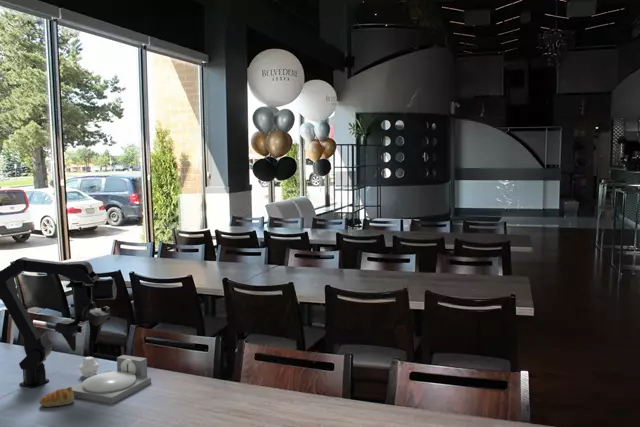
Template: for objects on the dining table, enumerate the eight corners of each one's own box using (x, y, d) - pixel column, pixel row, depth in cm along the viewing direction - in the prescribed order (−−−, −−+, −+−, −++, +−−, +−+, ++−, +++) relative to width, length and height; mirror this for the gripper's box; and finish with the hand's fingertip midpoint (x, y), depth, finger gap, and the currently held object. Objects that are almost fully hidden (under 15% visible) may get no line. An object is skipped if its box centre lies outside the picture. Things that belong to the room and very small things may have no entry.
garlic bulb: (76, 377, 193) (75, 357, 192) (93, 372, 197) (92, 352, 197) (85, 381, 189) (84, 360, 188) (102, 376, 193) (101, 356, 193)
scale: (66, 395, 176) (65, 373, 176) (114, 373, 196) (113, 353, 195) (111, 404, 170) (111, 381, 169) (157, 380, 189) (156, 359, 189)
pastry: (41, 410, 165) (40, 398, 165) (38, 402, 171) (37, 390, 170) (76, 402, 170) (75, 390, 170) (72, 394, 176) (71, 383, 175)
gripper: (79, 308, 174) (81, 358, 175) (122, 296, 191) (123, 341, 193) (52, 305, 178) (54, 354, 179) (96, 293, 196) (98, 338, 197)
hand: (84, 346), depth 187 cm, fingers open, 9 cm apart
